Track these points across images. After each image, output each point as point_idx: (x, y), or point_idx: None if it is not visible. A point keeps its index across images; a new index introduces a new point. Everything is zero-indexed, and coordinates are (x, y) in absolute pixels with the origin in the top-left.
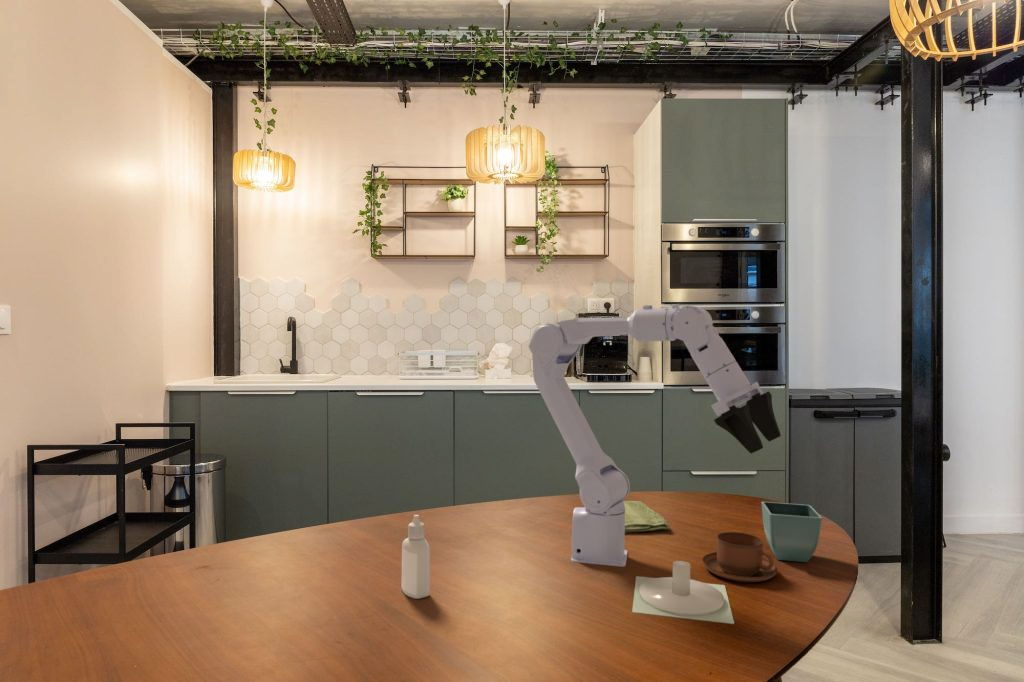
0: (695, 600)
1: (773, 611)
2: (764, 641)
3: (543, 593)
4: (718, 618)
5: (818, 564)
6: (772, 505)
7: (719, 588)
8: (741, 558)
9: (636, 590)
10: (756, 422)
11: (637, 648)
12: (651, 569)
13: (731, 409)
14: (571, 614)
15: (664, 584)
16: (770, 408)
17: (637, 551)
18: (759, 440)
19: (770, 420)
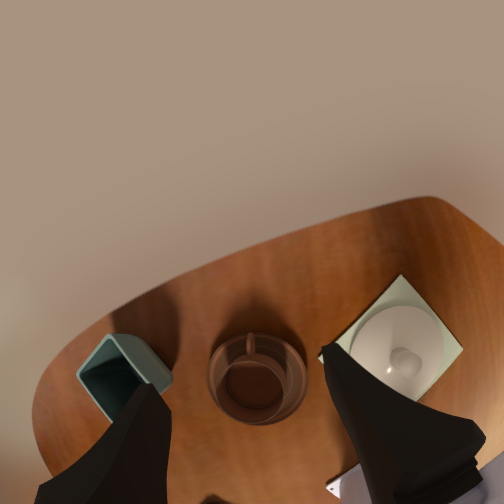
0: (403, 331)
1: (327, 278)
2: (398, 234)
3: (481, 423)
4: (406, 292)
5: (140, 333)
6: (111, 415)
7: None
8: (277, 367)
9: (420, 394)
10: (160, 479)
11: (496, 288)
12: (345, 440)
13: (461, 479)
14: (496, 372)
15: (395, 385)
16: (99, 461)
17: (307, 485)
18: (340, 358)
19: (135, 436)
